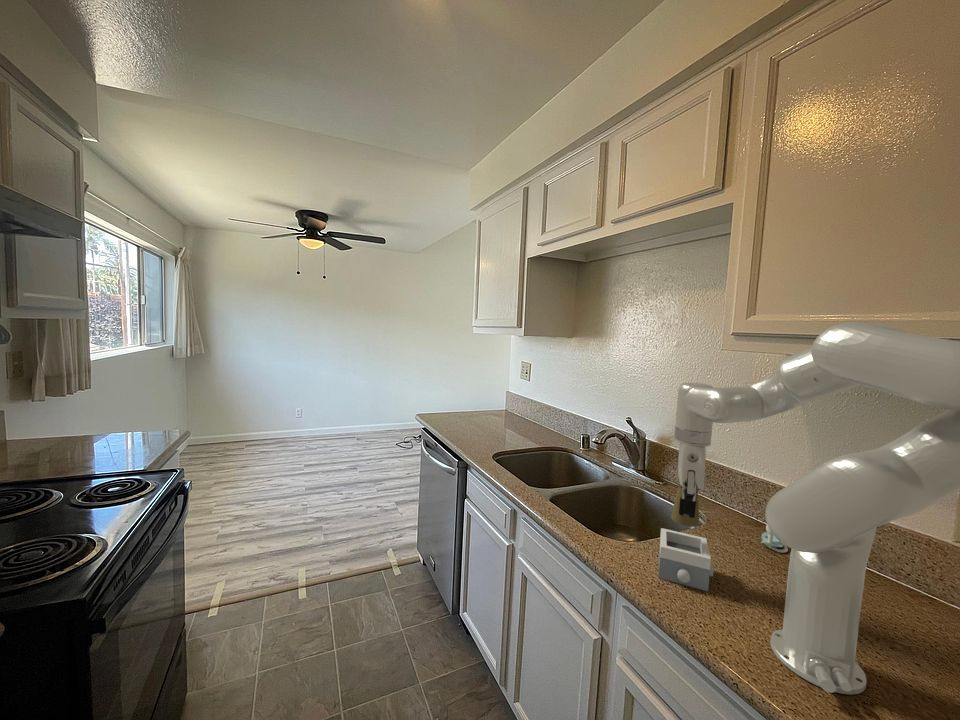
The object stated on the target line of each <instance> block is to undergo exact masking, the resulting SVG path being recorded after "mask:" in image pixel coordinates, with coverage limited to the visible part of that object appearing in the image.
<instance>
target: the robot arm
mask: <svg viewBox="0 0 960 720" xmlns="http://www.w3.org/2000/svg"><path fill="white" fill-rule="evenodd" d="M860 386H861V387H865V388H869V389H872V390H876V391H880V392H883V393H886V394H890V395H893V396H897V397H900V398H903V399H906V400H910V401H914V402H917V403H920V404H924V405H926V406H927V405H928V406H931V407H935V408H939V409H940V408H941V409H945V410H944V411H943V412H941V413H939V414H938V415H936V416H933V417H932V418H930V419H928V420H926V421H924V422H922V423H919V424H918V425H917V426H915V427H914V428H911V430H909V431H908V432H906V433H904V434H902V435H901V436H898V438H895V439H894V440H892V441H890V442H888V443H886V444H885V445H882V446H880V447H878V448H873V449H868V450H864V451H859V452H852V453H851V452H850V453H847V454H843V455H839V456H836V457H834V458H831V459H830V460H828V461H826V462H823V463H821V464H820V465H818V466H817V467H816V468H814V469H812V470H810V471H808V473H806V474H804V475H803V476H801V477H800V478H798V479H795V480H794V481H793V482H791V483H790V484H788V485H787V486H785V487H784V488H782V489H780V490H779V491H777V492H775V494H773V495H772V496H771V497H770V499H769V500H768V501H767V504H766V507H765V512H764V513H765V515H764V516H765V517H764V518H765V521H766V525H768V527H769V529H770V531H771V532H772V534H773V535H774V536H775V537H776V538H777V539H778V540H779V541H780V542H781V543H783V544H784V545H786V546H787V548H789V549H791V550H790V555H789V563H788V573H787V580H786V591H785V592H786V593H785V601H784V602H785V604H784V612H783V613H784V614H783V620H782V621H783V622H782V623H783V624H782V629H777V630H774V631H773V632H772V633H771V635H770V647H771V650H772V652H773V653H774V655H775V656H776V657H777V659H779V661H780V662H781V663H782V664H783V665H784V666H786V667H787V669H789V670H791V671H792V672H793V673H794V674H796V675H797V676H799V677H801V678H802V679H803V680H805V681H806V682H809V683H811V684H813V685H815V686H816V687H819V688H821V689H822V690H823V691H825V692H826V693H836V694H837V693H838V694H841V695H853V696H854V695H859V694H861V693H863V692H864V691H865V690H866V688H867V676H866V674H865V671H864V670H863V669H862V667H861V666H860V665H859V664H858V662H856V654H857V645H858V639H859V638H858V636H859V629H860V628H859V627H860V619H861V610H862V600H863V594H864V593H863V592H864V586H865V580H866V579H865V578H866V571H867V566H868V560H869V557H870V554H871V550H872V548H873V543H874V541H875V537H876V533H877V528H879V527H882V526H884V525H886V524H889V523H890V522H893V521H896V520H899V519H903V518H906V517H910V516H913V515H915V514H919V513H920V512H922V511H924V510H925V509H927V508H929V507H930V506H932V505H933V504H935V503H937V502H939V501H941V500H943V499H945V498H947V497H948V496H951V495H953V494H956V493H957V492H959V491H960V341H959V340H952V339H951V340H950V339H945V338H939V337H934V336H928V335H921V334H916V333H910V332H903V331H901V330H899V329H897V328H895V327H893V326H890V325H886V324H881V323H868V322H860V321H858V322H857V321H848V322H847V321H846V322H843V323H839V324H835V325H833V326H830V327H828V328H826V329H825V330H824V331H822V332H821V333H819V335H818V336H817V337H816V338H815V339H814V341H813V343H812V346H811V347H810V348H807V349H805V350H802V351H799V352H797V353H795V354H793V355H790V356H787V357H785V358H783V359H781V361H779V362H778V364H777V373H775V374H774V375H773V376H770V377H768V378H765V379H763V380H762V381H758V382H755V383H753V384H750V385H746V386H741V387H740V386H733V387H732V386H727V387H713V386H712V385H711V384H706V383H699V382H683V383H681V384H680V385H679V387H678V390H677V401H676V414H675V415H676V416H675V426H674V438H673V439H674V441H675V442H677V443H679V444H678V445H679V446H678V458H677V459H678V462H677V469H678V470H677V471H678V472H677V473H678V475H679V483H680V485H681V486H682V498H681V497H680V506H679V514H680V515H682V516H683V515H684V514H688V515H689V516H690V517H691V518H694V517H695V507H696V500H695V498H696V484H697V487H698V489H700V490H699V491H703V490H704V489H705V473H706V472H705V471H706V459H707V458H706V457H707V456H706V451H707V450H706V449H707V448H706V447H710V446H711V445H712V434H713V426H714V425H713V423H716V424H732V423H744V422H747V423H748V422H754V421H759V420H762V419H766V418H769V417H772V416H775V415H778V414H783V413H785V412H788V411H791V410H793V409H796V408H798V407H801V406H804V405H806V404H808V403H810V402H812V401H816V400H818V399H821V398H824V397H828V396H831V395H834V394H837V393H840V392H844V391H846V390H847V391H848V390H850V389H854V388H857V387H860ZM687 475H688V476H687ZM685 483H687V486H686V485H685ZM685 489H687V490H685Z"/></svg>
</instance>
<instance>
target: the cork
mask: <svg viewBox="0 0 960 720" xmlns="http://www.w3.org/2000/svg"><path fill="white" fill-rule="evenodd" d="M687 476H688V475H687ZM675 483H676V486H677V490H676V495H675V498H674V504H673V507H672V511H671V516H670V518H671V520H672V521H674V522H675V523H677V524H679V525H682V526H685V527H689V528H690V527H692V528H693V527H695V528H696V527H699V525H700V524H701V523H700V510H699V491H701V490H700V489H698V487H697V484H696V498H695V500H696V507H695V517H694V518H691V517H690V516H689V515H688V514H684V515H683V516H682V515H680V514H679V506H680V497H681V498H682V486H681V485H680V483H679V474H678V475H677V476H676V480H675ZM685 485H686V486H687V483H685ZM685 490H687V489H685Z"/></svg>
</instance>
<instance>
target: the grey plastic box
mask: <svg viewBox="0 0 960 720" xmlns="http://www.w3.org/2000/svg"><path fill="white" fill-rule="evenodd" d="M659 537H660V538H659V550H658V551H659V552H658V579H661V580H664V581H669V582H672V583H676V584H680V585H683V586H687V587H689V588H693V589H698V590H701V591H705V592H709V587H710V586H709V584H710V577H714V563H713V564H712V563H711V561H712V558H711V554H710V550H709V546H708V545H709V544H708V540H707V537H701V536H698V535H693V534H691V533H690V534H688V533H685V532H680V531H676V530H671V529H668V528H667V529H666V528H662V527H660V536H659Z"/></svg>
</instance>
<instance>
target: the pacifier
mask: <svg viewBox="0 0 960 720" xmlns="http://www.w3.org/2000/svg"><path fill="white" fill-rule="evenodd" d="M765 530H766V531H765V532H763V533H761V543H762V544H765V546H766V548H768V549H771V550H773V551H775V552H777V553H780V554H781V553H787V552H788V551H789V547H788V546H786V545H784V544H783V543H781V542H780V541H779V540H778V539H777V538H776V537H775V536H774V535H773V534H772V532H771V531H770V529H769V527H768V525H767V524H766V525H765ZM780 548H781V549H780Z"/></svg>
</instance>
